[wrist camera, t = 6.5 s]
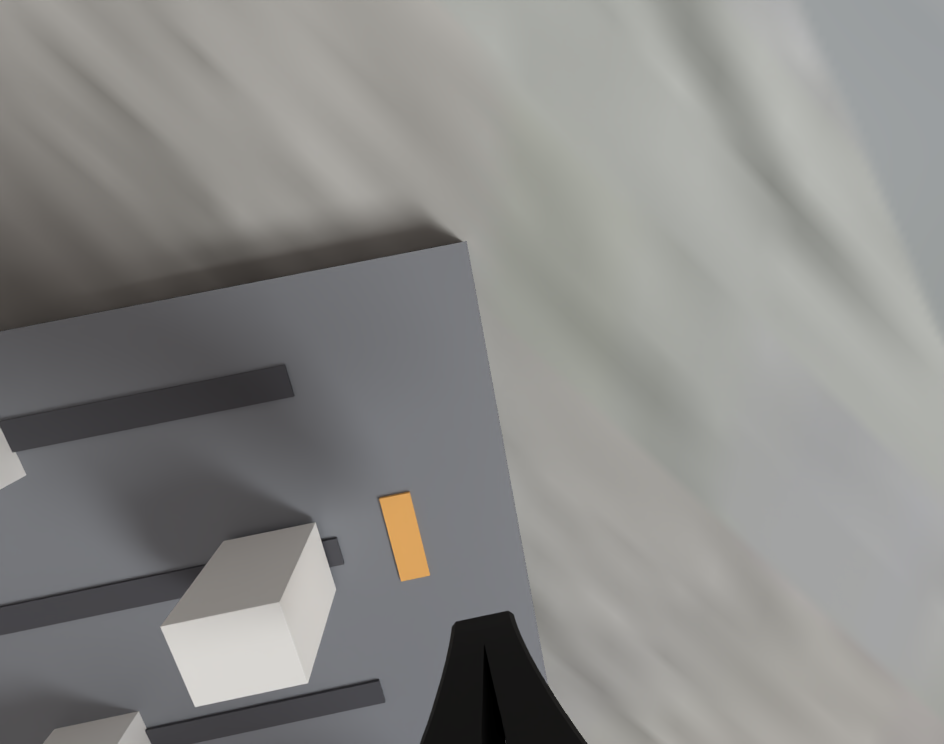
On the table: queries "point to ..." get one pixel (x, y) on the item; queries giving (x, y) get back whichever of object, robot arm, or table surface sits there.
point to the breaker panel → (252, 499)
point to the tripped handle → (253, 616)
